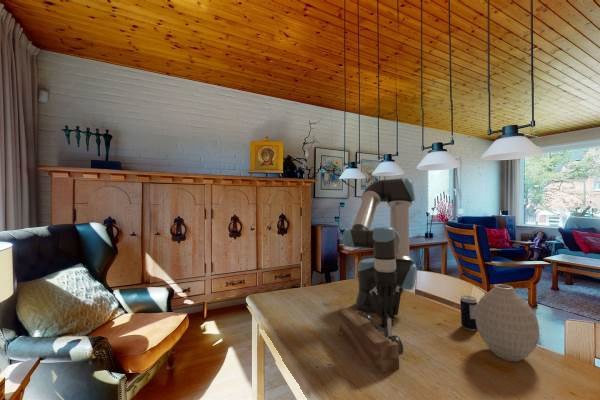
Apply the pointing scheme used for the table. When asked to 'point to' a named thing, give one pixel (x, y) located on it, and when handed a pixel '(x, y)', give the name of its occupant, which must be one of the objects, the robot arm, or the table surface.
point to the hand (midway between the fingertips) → (387, 335)
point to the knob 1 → (368, 318)
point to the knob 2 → (381, 327)
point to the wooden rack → (369, 341)
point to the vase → (507, 323)
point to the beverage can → (468, 312)
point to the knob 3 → (398, 341)
